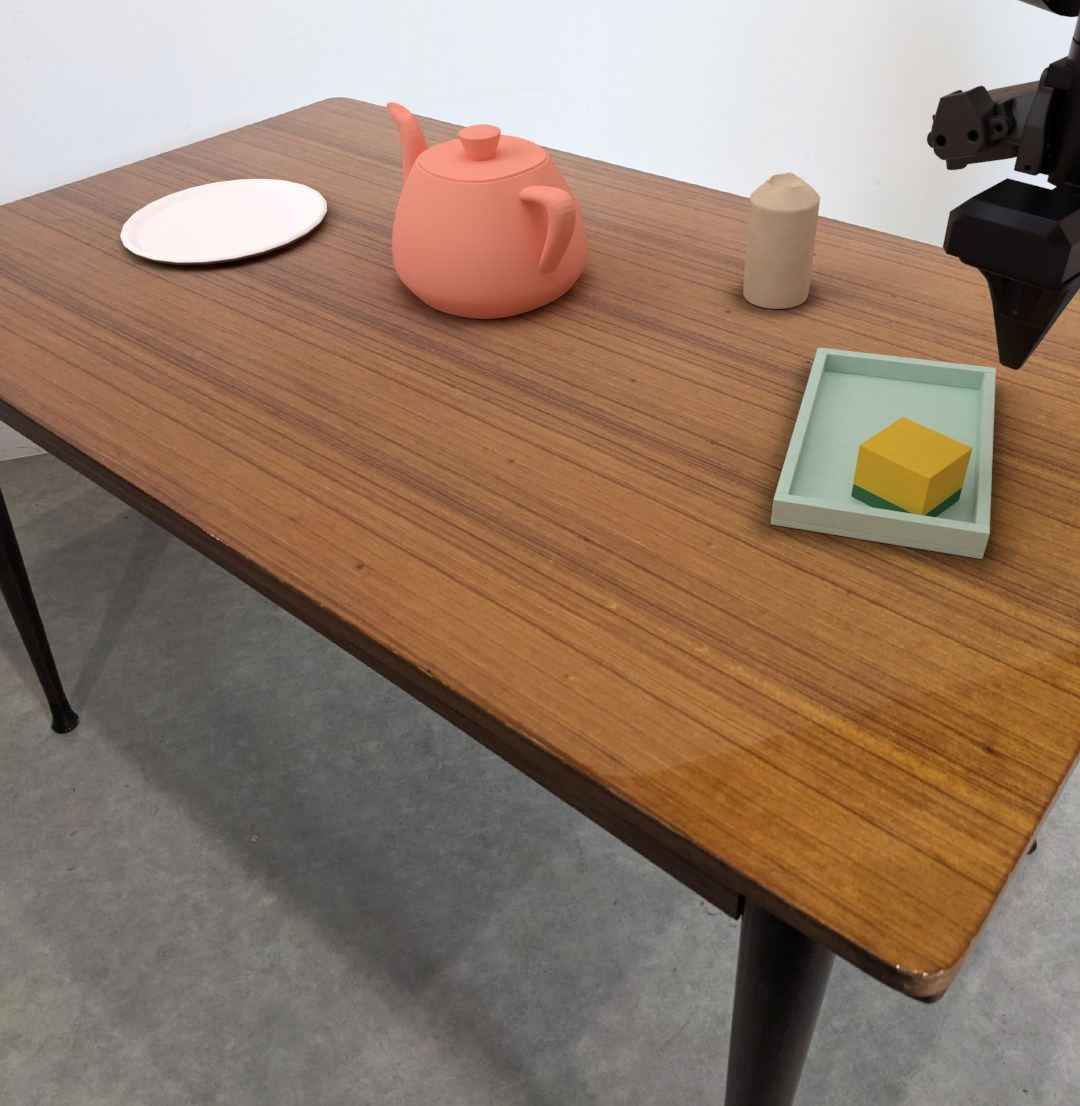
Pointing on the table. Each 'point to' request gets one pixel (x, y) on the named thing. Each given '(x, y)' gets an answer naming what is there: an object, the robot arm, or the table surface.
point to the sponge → (910, 469)
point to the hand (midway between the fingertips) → (1052, 336)
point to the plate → (224, 221)
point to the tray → (863, 411)
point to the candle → (780, 242)
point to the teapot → (484, 223)
